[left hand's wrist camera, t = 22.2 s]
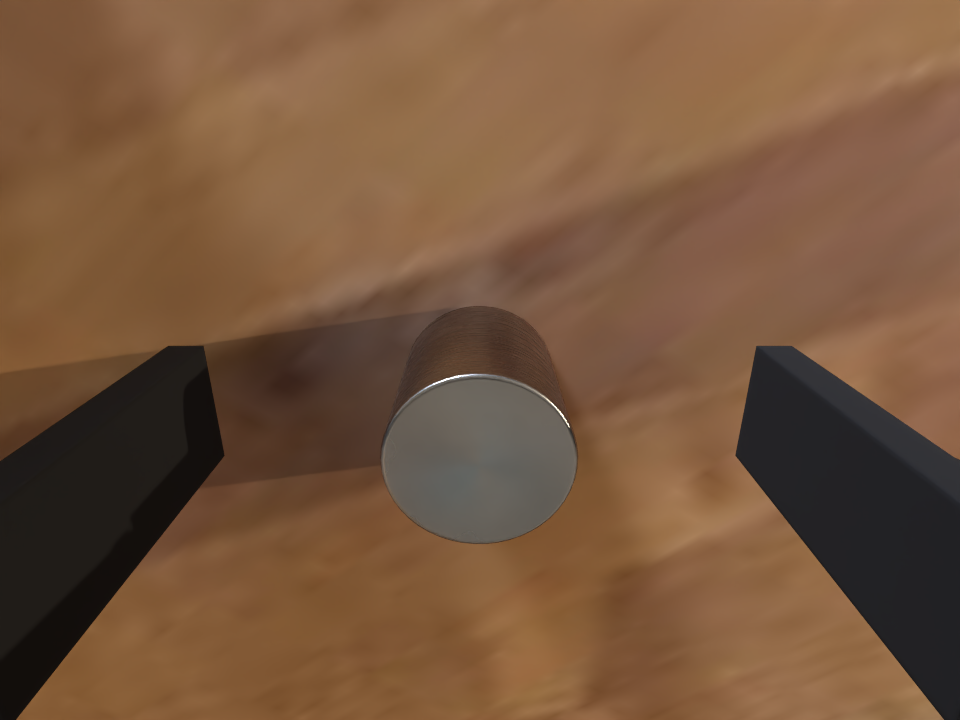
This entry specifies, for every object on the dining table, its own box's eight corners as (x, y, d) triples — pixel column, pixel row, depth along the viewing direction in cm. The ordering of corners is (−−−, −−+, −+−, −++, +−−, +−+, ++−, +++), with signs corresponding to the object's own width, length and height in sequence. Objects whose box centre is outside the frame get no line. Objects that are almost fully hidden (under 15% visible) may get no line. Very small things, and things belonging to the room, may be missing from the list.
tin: (407, 300, 14) (378, 368, 10) (559, 309, 14) (591, 380, 10) (406, 434, 15) (380, 541, 11) (544, 441, 15) (566, 550, 11)
